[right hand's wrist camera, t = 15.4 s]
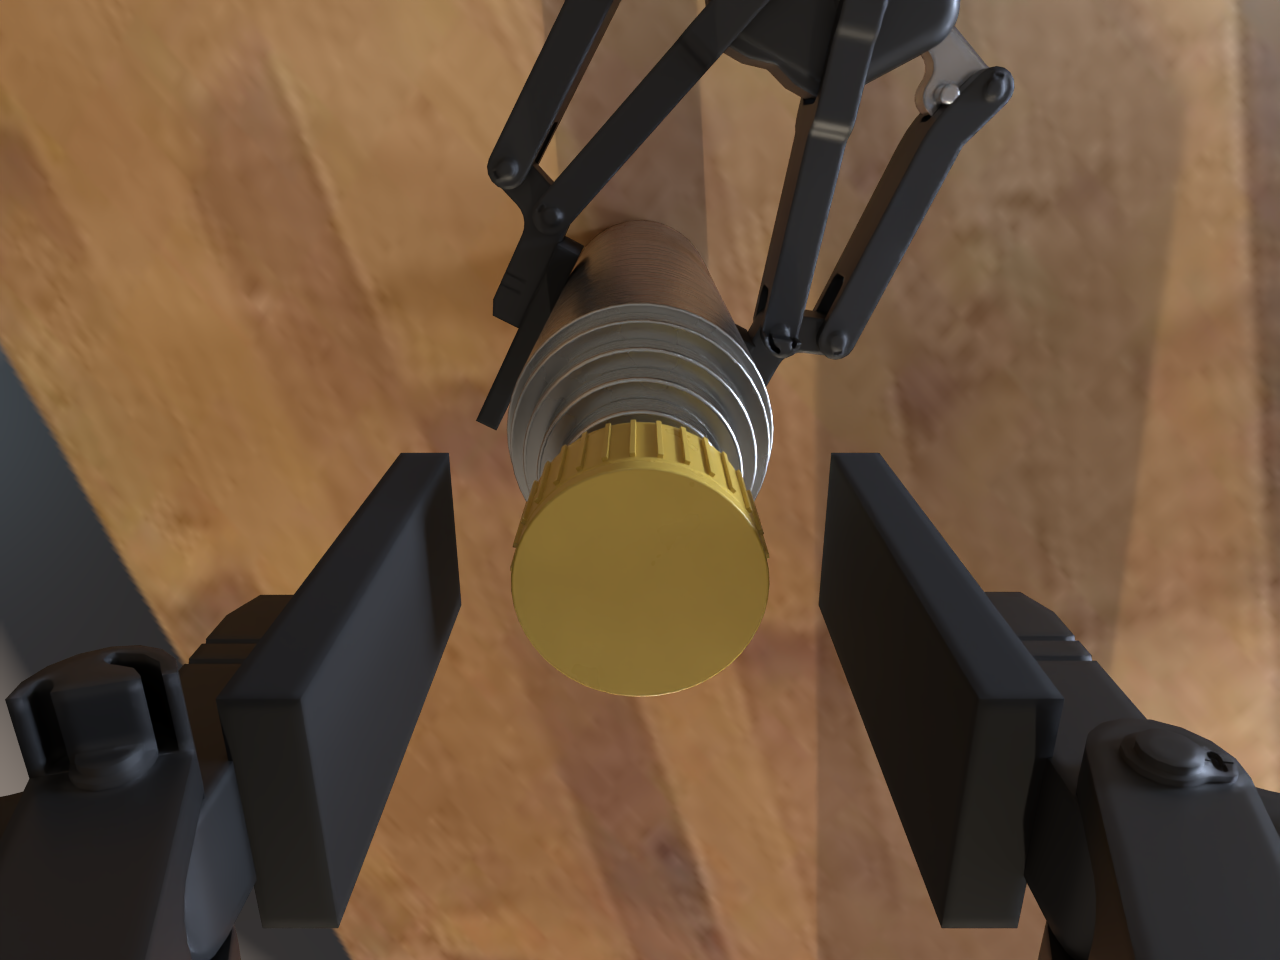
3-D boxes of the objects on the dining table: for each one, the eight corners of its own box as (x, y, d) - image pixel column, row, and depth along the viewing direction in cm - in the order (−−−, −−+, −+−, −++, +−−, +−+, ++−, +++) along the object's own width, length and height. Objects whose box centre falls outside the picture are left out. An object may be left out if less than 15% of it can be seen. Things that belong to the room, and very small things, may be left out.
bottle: (556, 236, 35) (396, 429, 12) (695, 206, 35) (806, 346, 12) (588, 372, 38) (502, 759, 14) (720, 345, 37) (855, 699, 14)
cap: (625, 666, 15) (622, 743, 14) (476, 511, 14) (451, 571, 12) (801, 542, 15) (826, 606, 13) (657, 368, 14) (659, 408, 12)
